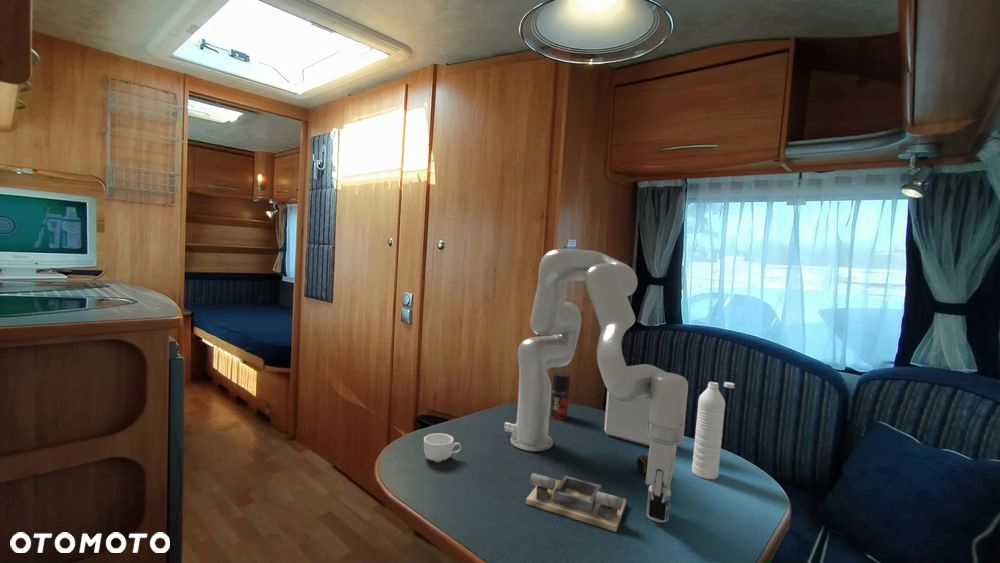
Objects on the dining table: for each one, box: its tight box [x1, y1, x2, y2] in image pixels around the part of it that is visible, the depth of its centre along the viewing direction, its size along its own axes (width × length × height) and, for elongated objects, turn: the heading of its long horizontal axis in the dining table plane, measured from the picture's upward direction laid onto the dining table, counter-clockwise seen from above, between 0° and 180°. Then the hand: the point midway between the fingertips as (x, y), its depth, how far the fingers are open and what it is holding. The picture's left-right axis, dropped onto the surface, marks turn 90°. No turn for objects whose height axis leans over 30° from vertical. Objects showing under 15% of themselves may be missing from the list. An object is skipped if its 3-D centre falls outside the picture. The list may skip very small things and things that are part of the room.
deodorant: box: [549, 371, 571, 421], centre depth 159 cm, size 6×6×15 cm
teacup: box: [423, 432, 462, 461], centre depth 122 cm, size 10×8×5 cm
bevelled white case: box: [603, 389, 651, 447], centre depth 142 cm, size 21×8×20 cm, turn 58°
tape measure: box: [636, 454, 649, 475], centre depth 122 cm, size 7×7×4 cm
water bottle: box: [691, 381, 735, 480], centre depth 122 cm, size 9×6×25 cm
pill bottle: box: [646, 482, 672, 523], centre depth 100 cm, size 5×5×8 cm
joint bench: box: [525, 472, 627, 533], centre depth 104 cm, size 20×12×6 cm, turn 65°
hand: (658, 510), depth 101 cm, fingers closed on pill bottle, 4 cm apart
